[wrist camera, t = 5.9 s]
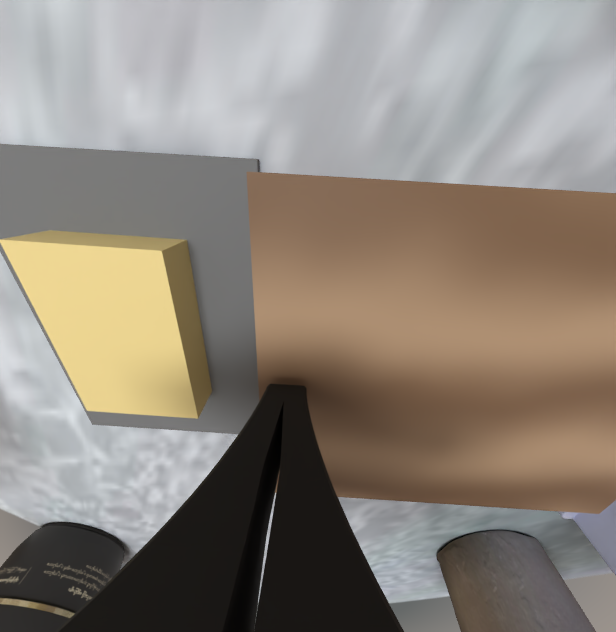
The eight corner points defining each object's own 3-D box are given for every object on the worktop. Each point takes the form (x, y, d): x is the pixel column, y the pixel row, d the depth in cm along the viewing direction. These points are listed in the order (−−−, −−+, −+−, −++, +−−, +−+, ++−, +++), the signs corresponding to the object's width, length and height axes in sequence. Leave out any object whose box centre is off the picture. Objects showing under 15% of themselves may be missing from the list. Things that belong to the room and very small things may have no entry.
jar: (76, 562, 30) (5, 673, 23) (10, 522, 25) (-101, 645, 19) (148, 557, 28) (96, 674, 22) (92, 513, 24) (3, 644, 17)
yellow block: (86, 410, 13) (113, 384, 15) (198, 418, 13) (212, 391, 15) (-2, 239, 9) (50, 230, 11) (161, 251, 9) (186, 239, 11)
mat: (268, 432, 17) (267, 435, 17) (95, 420, 17) (92, 424, 17) (258, 159, 10) (256, 159, 9) (-49, 141, 10) (-59, 140, 9)
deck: (540, 444, 17) (599, 514, 13) (275, 427, 17) (264, 491, 13) (729, 202, 10) (960, 214, 6) (271, 175, 10) (246, 171, 6)
